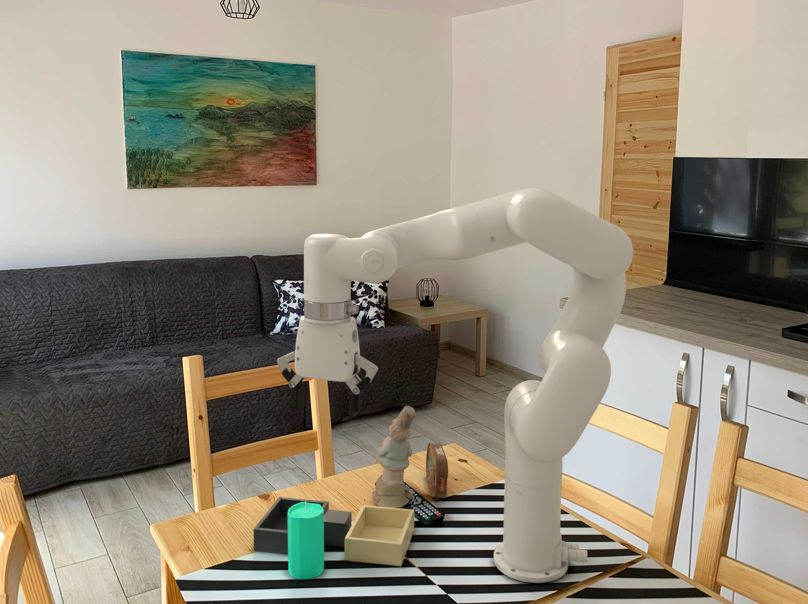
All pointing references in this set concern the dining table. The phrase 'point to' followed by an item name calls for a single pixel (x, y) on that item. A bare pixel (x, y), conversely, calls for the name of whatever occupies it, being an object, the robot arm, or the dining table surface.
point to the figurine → (395, 463)
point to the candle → (305, 540)
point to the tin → (436, 470)
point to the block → (336, 527)
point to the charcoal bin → (278, 526)
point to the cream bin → (380, 535)
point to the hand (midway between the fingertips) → (326, 411)
